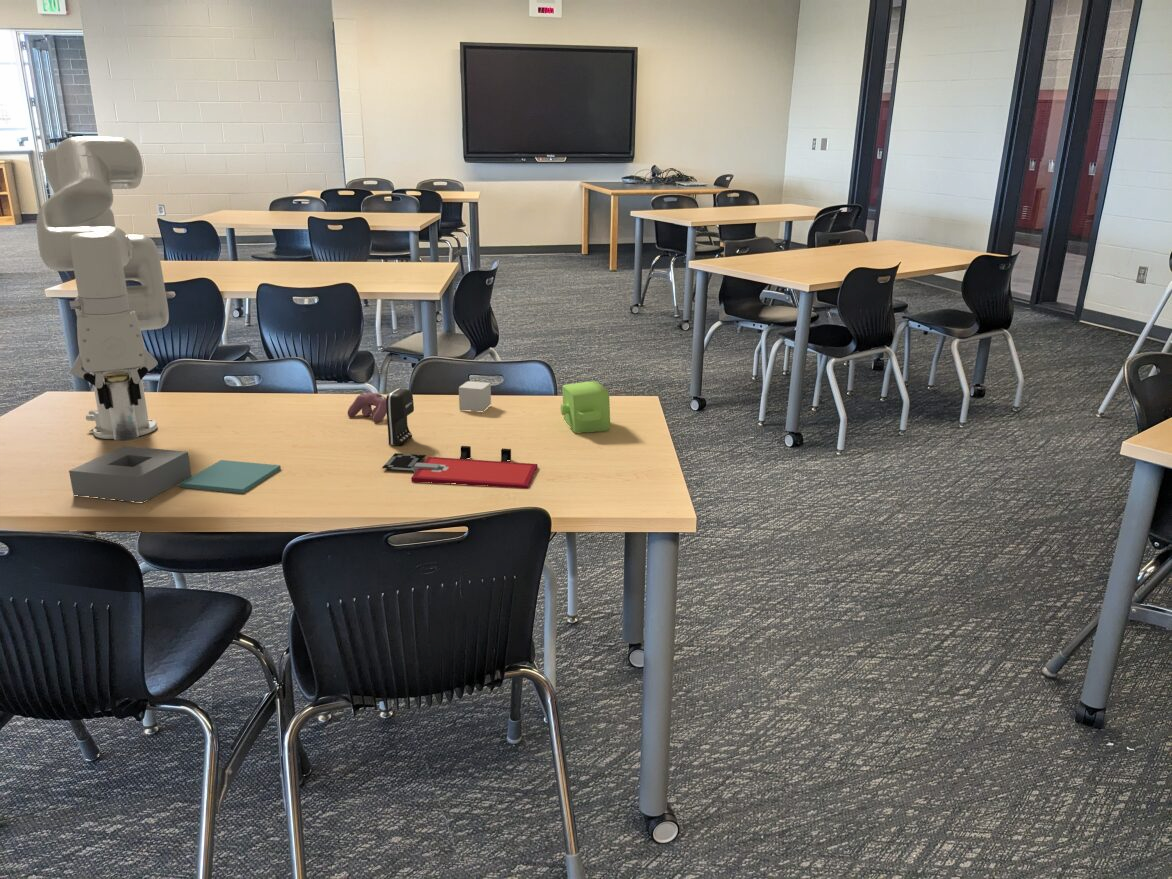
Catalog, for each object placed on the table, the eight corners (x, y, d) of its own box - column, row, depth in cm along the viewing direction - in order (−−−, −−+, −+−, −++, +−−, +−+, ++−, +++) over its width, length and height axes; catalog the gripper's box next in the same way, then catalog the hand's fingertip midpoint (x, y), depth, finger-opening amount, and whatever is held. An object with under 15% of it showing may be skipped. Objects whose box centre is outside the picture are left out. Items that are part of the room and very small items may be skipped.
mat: (180, 487, 162) (179, 483, 162) (221, 463, 174) (221, 459, 174) (243, 493, 159) (242, 489, 159) (280, 469, 171) (280, 465, 171)
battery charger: (404, 447, 185) (401, 395, 181) (387, 446, 185) (384, 394, 182) (417, 437, 191) (414, 387, 187) (401, 436, 192) (398, 386, 188)
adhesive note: (468, 404, 216) (467, 381, 215) (491, 406, 215) (490, 383, 213) (459, 411, 211) (458, 387, 209) (482, 413, 210) (482, 389, 208)
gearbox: (552, 418, 208) (550, 379, 205) (592, 413, 211) (590, 375, 208) (571, 439, 192) (569, 398, 189) (614, 434, 194) (612, 393, 191)
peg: (115, 442, 157) (104, 378, 153) (112, 435, 160) (102, 373, 156) (140, 438, 159) (130, 375, 155) (136, 432, 162) (127, 370, 158)
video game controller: (388, 426, 203) (396, 398, 204) (374, 422, 199) (383, 393, 200) (357, 419, 208) (365, 391, 209) (344, 415, 204) (352, 387, 205)
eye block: (73, 496, 157) (68, 470, 155) (127, 469, 170) (123, 445, 168) (142, 503, 154) (137, 477, 153) (191, 476, 167) (188, 451, 166)
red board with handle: (398, 454, 181) (373, 481, 167) (397, 441, 180) (372, 468, 166) (540, 463, 178) (527, 492, 164) (540, 450, 177) (527, 478, 163)
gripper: (50, 313, 144) (70, 418, 150) (160, 305, 153) (174, 404, 159) (47, 305, 150) (66, 406, 156) (154, 297, 159) (167, 393, 165)
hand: (121, 404), depth 158 cm, fingers closed on peg, 4 cm apart
